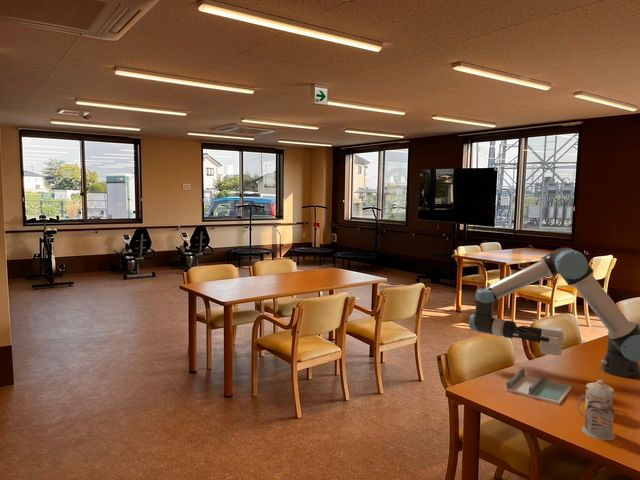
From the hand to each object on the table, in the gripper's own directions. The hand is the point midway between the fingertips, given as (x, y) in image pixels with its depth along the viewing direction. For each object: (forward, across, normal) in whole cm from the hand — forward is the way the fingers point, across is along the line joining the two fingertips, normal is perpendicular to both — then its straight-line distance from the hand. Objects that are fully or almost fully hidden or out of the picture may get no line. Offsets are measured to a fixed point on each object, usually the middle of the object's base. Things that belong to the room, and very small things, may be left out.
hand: (560, 339), depth 200 cm
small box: (-3, 0, -7) cm, 8 cm away
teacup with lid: (+18, +16, -19) cm, 31 cm away
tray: (-5, +12, -19) cm, 23 cm away
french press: (+21, +36, -19) cm, 46 cm away
